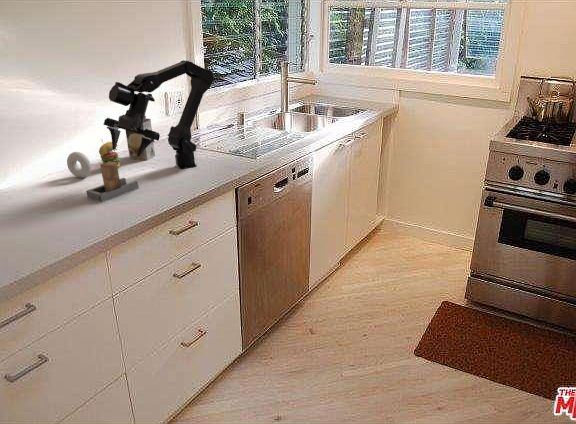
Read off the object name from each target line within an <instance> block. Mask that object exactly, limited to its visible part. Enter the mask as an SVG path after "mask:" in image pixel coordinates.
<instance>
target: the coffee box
mask: <svg viewBox="0 0 576 424" xmlns="http://www.w3.org/2000/svg"><path fill="white" fill-rule="evenodd" d="M142 127H143V129H142V130H145V129H148V130H151V131H153V130H152V128H153V127H152V121H151V118H147V117H146V118H144V120H143V124H142ZM135 130H138V129H136V128H134V131H135ZM124 131H125V136H126V142H127V150H128V154H129V155H128V156H129V159H133V160H142V161H143V160H144V161H145V160H146V161H148V160H151V159H152V158H154V157H156V151H155V144H154V143H155V142H151V143H150V144H149V145H148V146H147V147H146V149H145V150H144V151H143V152H142V154H141V155H140V156H139V157H138V156H137V154H138V150H139V148H140V145H141V140H142V137H143V138H144V137H145V136H144V135H141V134H138V133H135V132H131V131H128V130H124Z"/></svg>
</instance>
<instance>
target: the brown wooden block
mask: <svg viewBox="0 0 576 424" xmlns="http://www.w3.org/2000/svg"><path fill="white" fill-rule="evenodd" d="M100 171H101V176H102V182H103V185H104V187H105V192H107V191H109V190H112V189H115V188H118V187H120V186H121V185H120V179H121V178H120V175H119V174H120V173H119V168H117V163H115V162H111V161H110V162H107V163H104V164H103V163H100Z"/></svg>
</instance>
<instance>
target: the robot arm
mask: <svg viewBox="0 0 576 424" xmlns="http://www.w3.org/2000/svg"><path fill="white" fill-rule="evenodd" d="M182 75H187V76H188V77H189V78H190V88H191V89H190V92H189V95H188V97H187V100H186V103H185V105H184V108H183V110H182V113H181V115H180V118H179V122H178V124H177V125H176V126H171V127H170V129H169V133H168V134H167V135H166V136H167V142H168V144H169V146H170V147H171V148H172V150H173V151H175V154H174V158H175V165H176V166H177V167H178V168H179V169H180V170H183V169H188V168H189V169H190V168H193V167H197V164H196V161H195V160H196V159H195V152H197V145H196V144H195V143H193V142H192V130H191V129H192V125H193V123H194V121H195V118H196V116H197V113H198V110H199V108H200V105H201V102H202V99H203V96H204V94H205V93H206V92H207V91H208V90H209V89H210V88H211V86H212V84H213V83H214V80H215V75H214V72H213V71H212V70H210V69H208V68H207V69H206V68H204V67H202V66H200V65H197V64H195V63H194V62H192V61H191V60H186V59H185V60H184V59H183V60H180V61H179V62H177V63H175V64H172V65H170V66H168V67H167V66H166V67H164V68H161V69H159V70H157V71H154V72H145V73H139V74H137V75H135V77H134V79H133V80H132V81H131V82H130V83H128V84H127V85H126V84H124V83H122V82H119V81H115V84H114V85H113V86H112V87H111V88H110V89H109V93H108V99H109V101H110V102H113V103H115V104H119V105H121V106H123V107H128V109H127V110H126V111H125V114H121V115H119V116H118V120H116V119H113V118H109V117H105V119H104V122H103V124H102V125H103V126H106V129H108V130H109V132H110V137H111V142H112V148H113V149H114V150H115V151H116V149H117V147H118V146H117V145H118V142H119V138H120V135H121V130H119V129H122V130H124V131H125V130H128V131H131V132H135V133H138V134H141V135H144V136H145V137H144V138H143V137H142V140H141V145H140V148H139V150H138V154H137V156H138V157H139V156H140V155H141V154H142V152H143V151H144V150H145V149H146V147H147V146H148V145H149V144H150V143H151V142H154V143H156V141H158V142H159V140H160V136H161V135H160V133H159V132H158V131H153V130H152V131H151V130H148V129H145V130H142V129H143V127H142V124H143V120H144V118H146V119H147V116H146V113H147V112H146V111H147V108H148V105H149V102H154V103H155V101H156V99H155V98H154V97H153V94H152V92H154V91H156V90H157V89H159V88H160V87H161V86H162V84H163V83H165V82H169V81H170V80H172V79H173V80H174V79H175V78H177V77H180V76H182ZM146 93H147V94H146ZM134 128H136V129H138V130H135V131H134ZM116 146H117V147H116ZM115 148H116V149H115ZM114 150H113V151H114Z"/></svg>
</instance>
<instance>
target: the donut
mask: <svg viewBox="0 0 576 424" xmlns="http://www.w3.org/2000/svg"><path fill="white" fill-rule="evenodd" d="M77 162H78V163H80V164H79V165H80V167H81V168H80V167H79V166H78V163H77ZM66 165H67V168H68V170H69V172H70V173H71V174H72V175H73V176H75V177H77V178H80V179H82V178H86V177H88V176H89V175H90V173H91V170H92V164H91V161H90V160H89V158H88V156H86V155H85V154H84V153H83V152H80V151H73V152H71V153H70V154H69V155H68V156H67V159H66Z"/></svg>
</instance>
